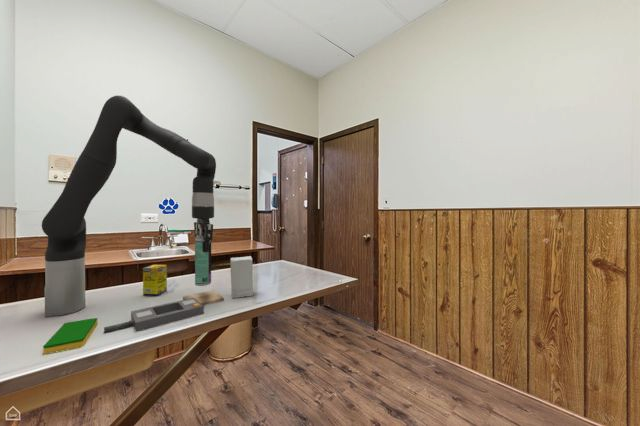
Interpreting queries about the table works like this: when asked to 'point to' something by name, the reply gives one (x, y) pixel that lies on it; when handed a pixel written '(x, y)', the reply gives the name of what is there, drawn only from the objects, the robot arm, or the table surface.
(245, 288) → the skincare box
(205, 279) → the spray can
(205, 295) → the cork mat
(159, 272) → the supplement box
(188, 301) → the power strip
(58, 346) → the dish sponge
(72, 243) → the robot arm
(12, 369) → the table surface
